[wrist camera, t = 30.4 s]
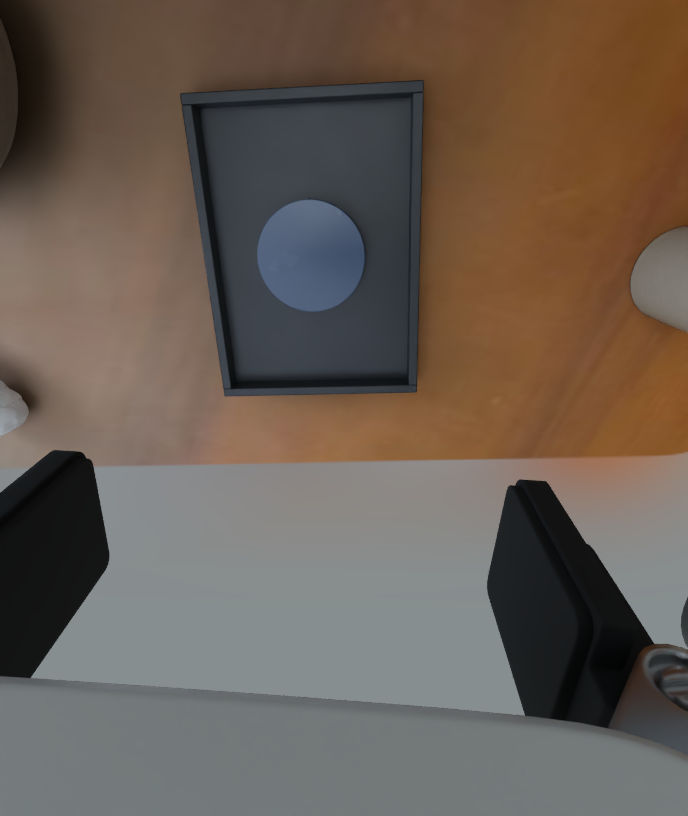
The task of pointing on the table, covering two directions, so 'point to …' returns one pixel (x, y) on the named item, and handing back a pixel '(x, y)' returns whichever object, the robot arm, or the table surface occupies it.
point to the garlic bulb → (11, 409)
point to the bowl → (7, 96)
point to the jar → (663, 279)
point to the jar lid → (311, 255)
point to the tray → (297, 180)
